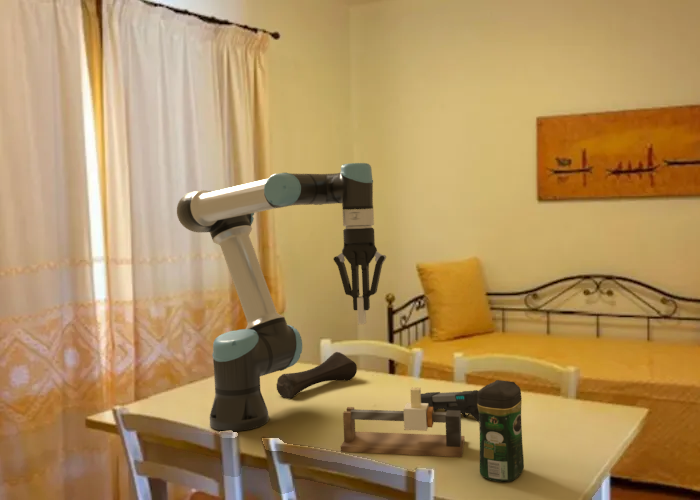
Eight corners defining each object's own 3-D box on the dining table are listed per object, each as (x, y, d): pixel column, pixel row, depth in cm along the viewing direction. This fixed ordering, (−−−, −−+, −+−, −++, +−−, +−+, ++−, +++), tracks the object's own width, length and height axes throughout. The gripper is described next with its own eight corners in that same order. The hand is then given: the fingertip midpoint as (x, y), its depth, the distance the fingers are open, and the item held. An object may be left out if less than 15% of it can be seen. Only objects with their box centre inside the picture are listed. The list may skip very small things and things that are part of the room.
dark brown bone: (345, 382, 220) (283, 415, 199) (330, 353, 222) (267, 383, 201) (366, 371, 213) (304, 403, 192) (350, 341, 214) (287, 370, 194)
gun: (481, 422, 168) (468, 383, 169) (420, 434, 181) (409, 397, 182) (490, 417, 171) (477, 379, 173) (430, 429, 184) (419, 393, 186)
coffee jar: (491, 462, 143) (489, 375, 142) (528, 469, 138) (526, 379, 137) (473, 478, 135) (471, 387, 133) (512, 486, 130) (510, 391, 129)
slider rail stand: (340, 451, 153) (339, 413, 152) (350, 436, 162) (349, 400, 162) (461, 457, 146) (460, 417, 146) (464, 440, 156) (463, 403, 155)
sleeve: (404, 430, 151) (402, 391, 151) (407, 423, 156) (406, 385, 156) (426, 430, 150) (425, 391, 150) (429, 423, 155) (427, 386, 154)
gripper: (328, 228, 162) (332, 326, 164) (382, 227, 159) (385, 326, 160) (336, 227, 169) (340, 320, 171) (387, 225, 166) (390, 320, 168)
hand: (362, 323), depth 166 cm, fingers closed
